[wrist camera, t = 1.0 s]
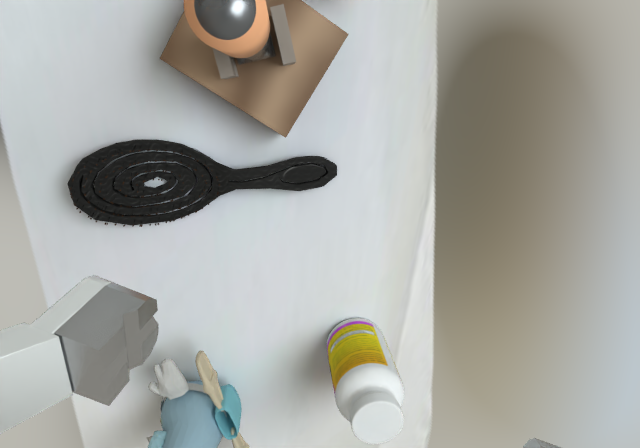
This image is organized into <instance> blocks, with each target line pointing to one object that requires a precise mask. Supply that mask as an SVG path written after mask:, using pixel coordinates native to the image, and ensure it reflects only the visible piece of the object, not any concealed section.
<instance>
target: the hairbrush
mask: <svg viewBox="0 0 640 448" xmlns="http://www.w3.org/2000/svg"><path fill="white" fill-rule="evenodd" d="M143 150H147V151H150V150H156V151H158V150H161V151H165V152H154V151H153V152H142V153H135V154H131V155H128V156H126V157H123V158H121V159H118V160H116V161H115V162H114V163H112V164H111V165H109V166H108V167H106V168H105V169H104V170H102V169H103V168H104V167H105V166H106V165H107V164H109V163H110V162H111V161H113V160H114V159H116V158H119V157H121V156H123V155H126V154H130V153H134V152H140V151H143ZM166 151H173V153H169V152H166ZM174 152H178V153H180V154H182V155H179V154H175V153H174ZM183 154H184V155H187V156H190V157H193V158H195V160H194V159H192V158H189V157H187V156H183ZM196 159H197V161H196ZM148 161H150V162H151V161H155V162H156V161H172V162H173V161H176V162H178V163H181V164H183V165H185V166H188V167H190V168H192V170H193V171H194V173H193V172H192V171H191V170H190V169H189V168H188V167H185V166H183V165H180V164H178V163H167V162H161V163H146V164H142V165H139V166H135V167H132V168H129V169H127V168H128V167H130V166H133V165H136V164H140V163H144V162H148ZM198 161H199V162H198ZM200 162H201V163H202V164H201V163H200ZM307 162H311V163H315V164H302V163H307ZM203 164H204V165H203ZM318 164H320V165H324V166H325V168H326V169H327V172H325V169H324V167H323V166H320V165H318ZM293 165H294V166H293ZM205 166H206V167H207V168H208V170H209V171H208V170H207V169H206V168H205ZM288 166H291V167H289V168H286V167H288ZM283 168H286V169H284V170H281V169H283ZM125 169H127V170H126V171H124V170H125ZM101 170H102V171H101ZM157 170H163V172H161V171H157ZM164 170H165V172H164ZM278 170H281V171H279V172H276V171H278ZM99 171H101V172H100V174H99V175H98V177H97V174H98V172H99ZM122 171H124V172H123V173H122V174H121V175H120V176H119V177H118V178H117V179H116V180H115V178H116V176H117V175H118V174H119V173H121V172H122ZM151 171H154V172H152V173H148V174H143V175H141V176H139V177H137V178H135V179H134V180H133V182H132V179H133V178H134V177H136V176H137V175H139V173H145V172H151ZM155 171H157V172H155ZM167 171H170V172H171V173H167ZM172 172H173V173H174V175H175V176H174V175H173V174H172ZM209 172H210V173H211V175H212V177H213V184H212V188H211V190H210V191H209V192H208V194H207V195H206V196H205V197H204V198H202V199H201V200H200V201H198V202H196V203H194V204H192V203H193V202H195V201H196V200H198V199H199V198H201V197H203V196H204V195H205V194H206V192H207V191H208V190H209V188H210V186H211V183H212V178H211V175H210V173H209ZM274 172H276V173H274ZM271 173H273V174H271ZM83 174H84V175H83ZM269 174H271V175H269ZM323 174H324V175H323ZM266 175H268V176H266ZM336 175H337V166H336V164H335V163H333V162H331V161H329V160H327V158H326V159H325V158H324V157H320V156H304V157H296V158H292V159H289V160H285V161H282V162H278V163H275V164H272V165H268V166H261V167H253V168H244V169H232V168H229V167H227V166H224V165H222V164H220V163H217V162H215V161H214V160H213V159H211V158H210V157H208V156H206V155H204V154H203V153H200V151H199V152H198V151H196V149H195V150H194V149H193V148H190V147H187V146H185V145H183V144H179V143H174V142H169V141H163V140H132V141H127V142H120V143H116V144H113V145H110V146H108V147H105V148H102V149H100V150H98V151H96V152H94V153H92V154H91V155H89V156H87V157H85V158H83V159H82V160H81V161H80V163H79V164H78V165H77V167H76V169H75V171H74V173H73V175H72V176H71V178H70V180H69V182H68V187H69V190H70V193H71V194H70V195H71V196H72V197H71V198H72V199H73V202H74V205H75V206H76V207H78V208H79V209H81V210H82V211H83V212H85V213H86V214H88V215H89V216H90V217H92V218H93V219H95V220H99V221H106V222H113V223H120V224H127V225H133V226H134V225H138V224H140V226H141V227H142V225H141V224H147V223H150V226H151V223H155V222H164V221H166V223H167V221H170V222H171V221H175V220H176V219H178V218H182V217H183V216H184V217H185V216H186V215H188V216H189V214H191V213H194V212H195V213H196V212H197V211H199V210H200V209H203V207H205V206H206V205H207V204H208V205H209V203H210V202H212V201H213V200H215V199H216V198H217V197H219V196H220V195H223V194H225V193H228V192H230V191H233V190H235V189H269V188H271V189H282V190H293V191H302V190H307V189H312V188H317V187H322V186H324V185H326V184H327V183H328V182H329V181H330V180H332V179H333V178H334V177H335V176H336ZM196 176H197V178H198V182H197V184H196ZM263 176H266V177H263ZM96 177H97V179H96ZM156 177H159V178H163V179H165V180H167V181H168V182H167V183H165V184H163V185H161V186H158V187H156V188H153V187H147V186H146V187H145V186H144V182H146V181H148V180H151V179H153V180H154V178H156ZM258 177H263V178H259V179H254V178H258ZM319 177H320V178H319ZM321 177H322V178H321ZM176 178H177V180H178V184H177V185H176V186H175V188H173V189H172V190H170V191H168V189H171V188H172V187H173V186H174V185H175V183H176ZM95 179H96V180H95ZM249 179H253V180H249ZM281 179H282V180H283V181H287V182H283V181H282V180H281ZM315 179H317V180H315ZM158 180H159V179H158ZM229 180H234V181H229ZM244 180H248V181H244ZM311 180H313V181H311ZM94 181H95V182H94ZM161 181H162V179H161ZM241 181H242V182H241ZM306 181H308V182H306ZM114 182H115V185H114ZM289 182H294V183H289ZM301 182H302V183H301ZM296 183H297V184H296ZM93 184H94V185H93ZM195 184H196V186H195V187H194V189H193V190H192V191H191V192H190V193H189V194H188V196H185V197H183V198H180V199H178V200H175V201H173V199H175V198H178V197H182V196H184V195H185V194H186V193H187V192H188V191H189V190H190V189H191V188H192V187H193V186H194V185H195ZM113 185H114V186H113ZM94 187H95V188H94ZM166 190H167V191H168V192H167V193H164V194H161V192H164V191H166ZM118 191H120V192H121V193H120V192H118ZM159 193H160V194H159ZM152 194H157V195H155V196H154V195H153V196H152ZM158 194H159V195H158ZM129 195H130V196H129ZM146 195H151V196H146ZM144 196H145V197H144ZM171 199H172V200H171ZM168 200H171V201H172V202H167V203H162V204H154V203H161V202H164V201H168ZM146 204H153V205H146ZM190 204H192V205H190ZM138 205H139V207H132V206H138ZM140 205H143V206H140ZM144 205H146V206H144ZM188 205H190V206H188ZM184 206H188V207H186V208H184V209H181V207H184ZM78 208H77V209H78ZM175 209H181V210H177V211H174V212H173V210H175ZM169 211H172V212H170V213H165V212H169ZM79 213H81V211H80V212H79ZM155 213H156V215H150V214H155ZM157 213H164V214H159V215H158V214H157ZM122 214H123V215H122ZM146 214H148V215H146ZM144 215H145V216H144ZM89 216H88V218H89ZM92 218H90V219H92ZM96 222H97V221H96ZM105 224H106V223H105ZM107 225H108V223H107ZM115 225H116V224H115ZM155 225H156V224H155ZM158 225H159V223H158ZM123 226H125V225H123Z"/></svg>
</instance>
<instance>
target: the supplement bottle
mask: <svg viewBox="0 0 640 448" xmlns="http://www.w3.org/2000/svg"><path fill="white" fill-rule="evenodd" d="M327 354H328V360H329V365H330V371H331V376H332V382H333V388H334V393H335V399H336V404H337V407H338V409H339V411H340V413H341V414H342V415H343V416H344V417H345V418H346V419H347V420H348V421H350V423H351V427H352V431H353V433H354V435H355V436H356V437H357V438H358V439H359V440H361V441H363V442H365V443H369V444H381V443H385V442H388V441H390V440H392V439H393V438H394V437H396V436H397V435H398V434H399V432H400V431H401V429H402V427H403V423H404V417H403V413H402V410H401V407H402V404H403V401H404V386H403V383H402V380H401V378H400V376H399V373H398V371H397V368H396V366H395V363H394V361H393V358H392V356H391V353H390V351H389V348H388V346H387V343H386V341H385V338H384V336H383V334H382V332H381V330H380V329H379V327H378V326H377V325H375V324H374V323H373V322H371V321H369V320H366V319H361V318H353V319H348V320H345V321H343V322H341V323H339V324H338V325H337V326H336V327H335V328H334V329H333V330H332V331H331V333H330V335H329V337H328V340H327Z"/></svg>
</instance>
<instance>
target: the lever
mask: <svg viewBox="0 0 640 448" xmlns="http://www.w3.org/2000/svg"><path fill="white" fill-rule="evenodd" d="M184 11H185V16H186V19H187V21H188V24H189V26H190V28H191V29H192V31H193V32H194V33H195V35H196V36H197V37H198V38H199V39H200V40H201V41H203V42H204V43H205V44H207V45H209V46H210V47H212V48H214V49H216V50H218V51H220V52H222V53H224V54H226V55H229V56H231V57H235V58H237V61H238V64H239V65H241V64H245V63H249V62H254V61H258V60H262V59H267V58H271V57H275V56H276V54H275V50H274V46H273V42H272V37H271V33H270V20H269V15H268V10H267V5H266V0H184Z"/></svg>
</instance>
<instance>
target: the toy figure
mask: <svg viewBox="0 0 640 448" xmlns="http://www.w3.org/2000/svg"><path fill="white" fill-rule="evenodd" d="M196 366H197V369H198V373H199V376H200V378H201V380H202V381H190V382H187V381H186V379H185V377H184V376H183V374H182V373H181V371H180V370H179V368H178V367H177V365H176V364H175V362H174V361H173V360H172V359H165V360H164V361H163V362H162V363H161V366H160V365H159V364H156V365H155V366H154V371H155V374H156V377H157V379H158V384H156V383H154V382H151V383H150V384H149V386H148V387H149V390H150V391H152V392H153V393H155V394H157V395H160V396H163V400H162V402H161V424H162V428H163V431H155V432H154V435H153V436H151V437H147V439H148V441H149V445H148V448H217V447H218V445H219V443H220V440H221V438H222V437H223V435H224V437H225V438H227V439H228V440H229V439H232V443H233V447H234V448H249V445H248V444H247V443H246V442H245V441H244V440H243V438H242V436H241V434H240V433H239V426H240V418H241V402H240V398H239V396H238V394H237V391H236V390H235V388H234V387H233V386H232V385H230V384H228V385H225V386H221V388H220V386H219V383H218V380H217V372H216V371H215V370H214V369H213V367H212V366H211V364H210V362H209V359H208V358H207V356H206V354H205V353H204V351H199V352H198V354H197V356H196ZM165 397H167V398H166V400H165V402H164V398H165Z"/></svg>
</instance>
